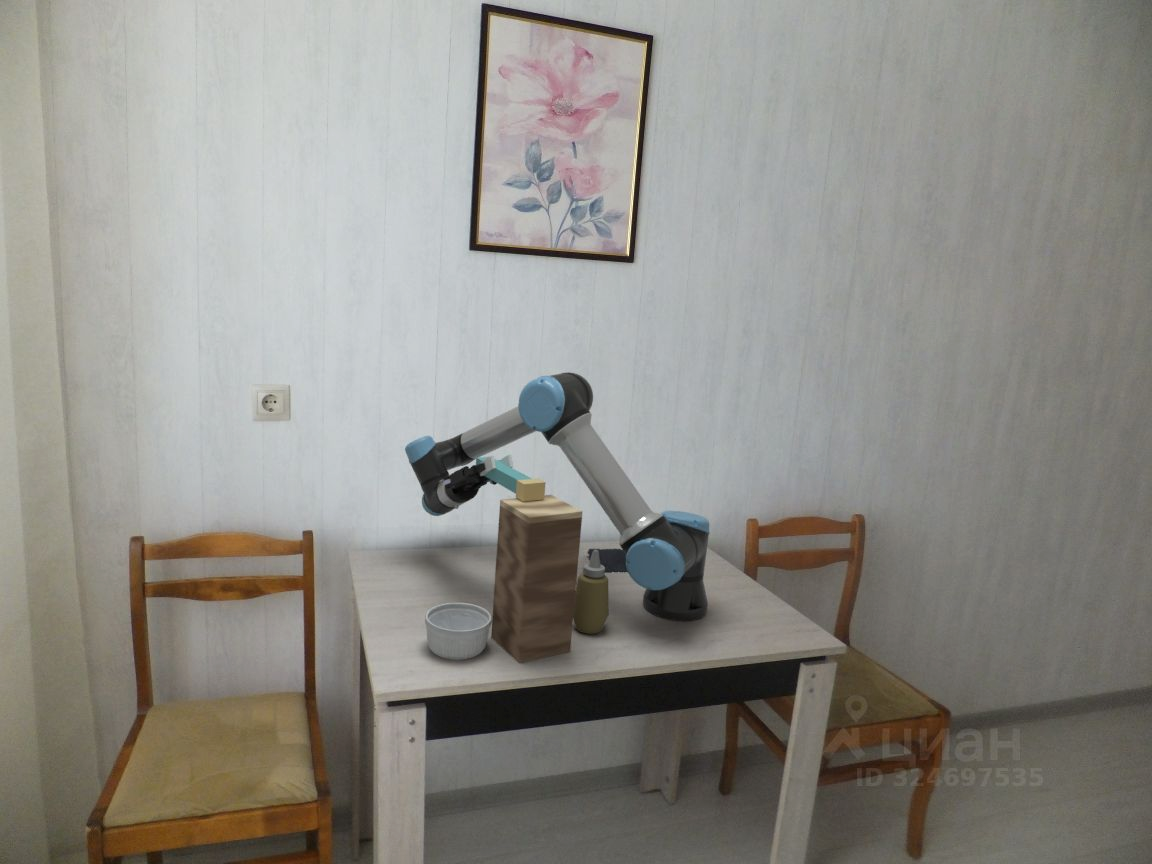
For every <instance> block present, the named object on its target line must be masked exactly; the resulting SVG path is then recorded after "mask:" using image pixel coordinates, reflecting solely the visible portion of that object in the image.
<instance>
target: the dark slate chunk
mask: <svg viewBox="0 0 1152 864" xmlns="http://www.w3.org/2000/svg"><path fill="white" fill-rule="evenodd" d="M593 550H598V551H599V558H600V564H601V565H603V566H604V567H605V574H606V573H607V574H608V573H609V574H612V572H614V573H618V572H620V573H621V572H622V573H623V572H624V573H626V572H627V574H629V573H628V571H627V568H626V554H625V552H624V551H623V549H622V548H589V549H588V551H587V555H588V557H589V559H591V556H592V553H593ZM614 573H613V574H614ZM622 573H621V574H622Z"/></svg>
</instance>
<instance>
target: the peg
mask: <svg viewBox="0 0 1152 864" xmlns="http://www.w3.org/2000/svg"><path fill="white" fill-rule="evenodd" d="M488 457H489V456H481V457H479V458H476V459H475V465H478V464H479V463H481V462H482V461H484V460H485V459H487V458H488ZM494 460H495V466H496V468H495V469H494V470H492V471H490V472H489V473H487V474H485V475H484V476H486V477H487V478H489V479H491V480H493V481H494V482H496V483H497V484H498V485H500V486H502V487H503V488H505V489H506V490H508V491H510V492H512V493H514V494H515V498H518V499H519V500H521V501H532V500H542V499H544V496H545V495H546V481H544V480H542V479H541V478H538V477H537V478H532V477H530V476H528V475H526V474H524V473H523V472H520V471H519V470H516V469H515V468H513V467H512V468H511V467H509V466H507V465H505V464H503V463H501V462H499V461H498V459H496V458H494Z"/></svg>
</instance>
